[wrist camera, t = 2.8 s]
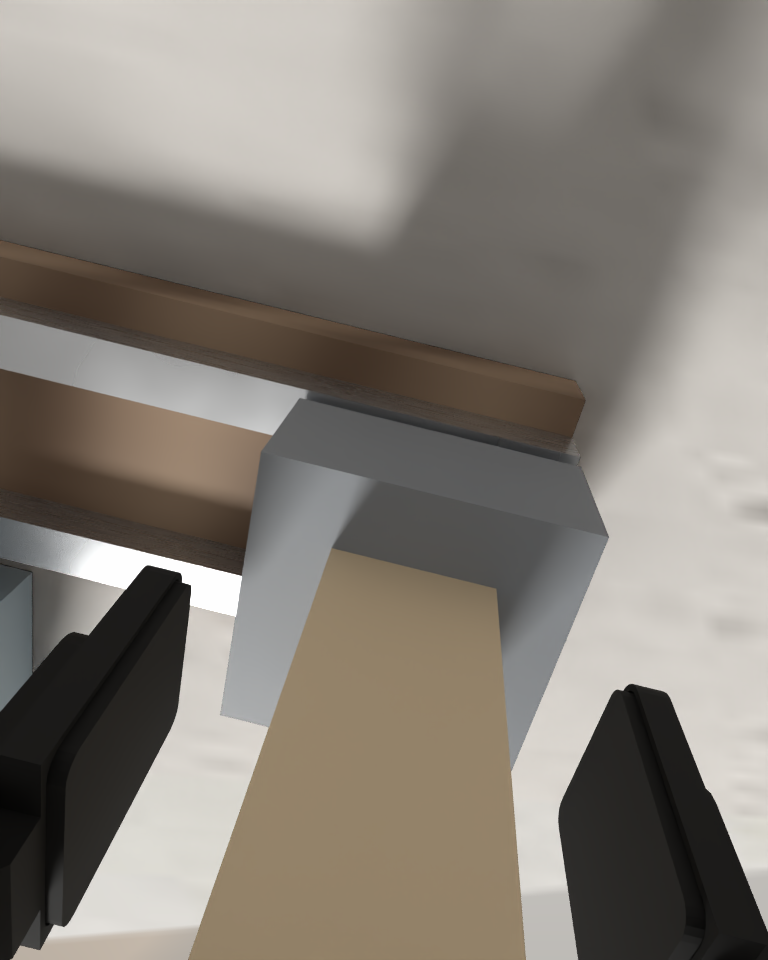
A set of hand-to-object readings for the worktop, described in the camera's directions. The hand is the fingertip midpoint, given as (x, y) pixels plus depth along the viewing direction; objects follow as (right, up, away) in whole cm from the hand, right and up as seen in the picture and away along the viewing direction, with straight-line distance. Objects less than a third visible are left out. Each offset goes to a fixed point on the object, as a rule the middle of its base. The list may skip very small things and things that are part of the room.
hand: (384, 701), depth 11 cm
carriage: (+1, +2, +4) cm, 5 cm away
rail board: (-7, +5, +7) cm, 11 cm away
